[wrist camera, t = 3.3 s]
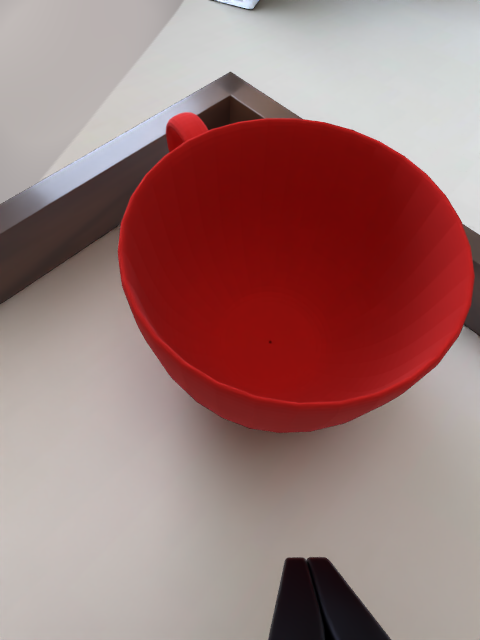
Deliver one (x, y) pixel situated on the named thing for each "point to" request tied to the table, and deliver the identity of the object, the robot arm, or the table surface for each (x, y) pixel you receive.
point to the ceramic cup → (292, 270)
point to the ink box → (241, 3)
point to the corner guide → (125, 189)
